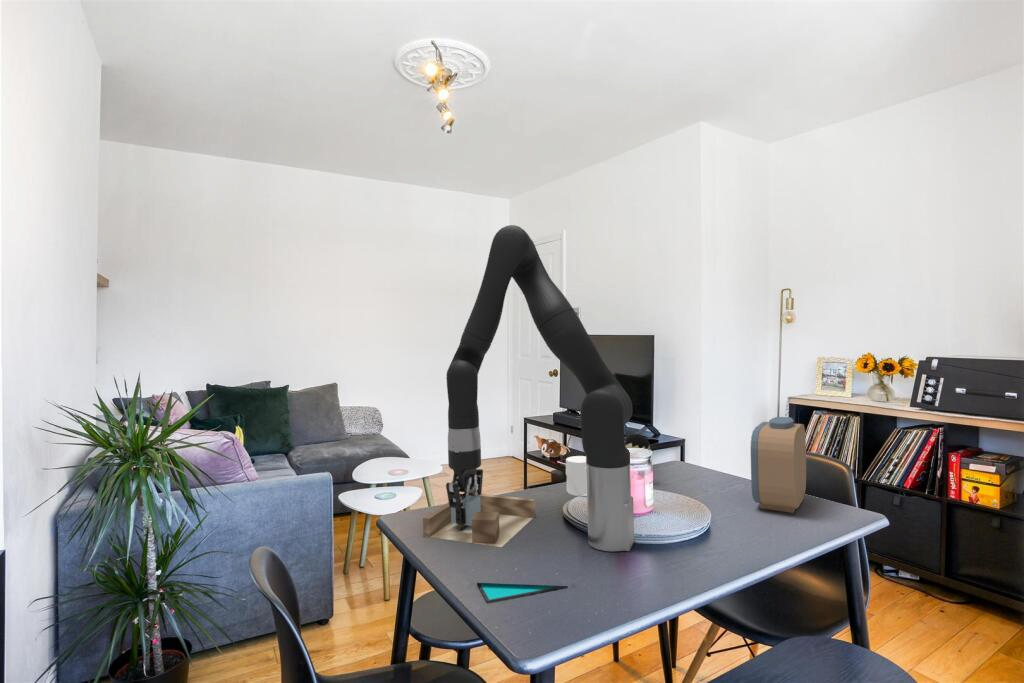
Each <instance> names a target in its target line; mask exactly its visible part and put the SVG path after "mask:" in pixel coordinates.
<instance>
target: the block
mask: <svg viewBox="0 0 1024 683" xmlns="http://www.w3.org/2000/svg"><path fill="white" fill-rule="evenodd" d="M460 499H461V502H462V497H460ZM453 502H454V500H453ZM476 512H481V506H480V497H478V496H470V495H469V496H468V498H466V503H465V513H466V523H465V524H464V525H468V526H471V525H472V518H473V517H474V515H475V513H476ZM451 523H454V524H457V523H456V509H455V508H453V507H451Z"/></svg>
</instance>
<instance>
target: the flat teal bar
mask: <svg viewBox="0 0 1024 683" xmlns="http://www.w3.org/2000/svg"><path fill="white" fill-rule="evenodd" d="M476 586H477V588H478V590H479V591H480V593H481V595H482V597H483V599H484V600H485V603H487V604H491V603H497V602H501V601H507V600H513V599H517V598H522V597H527V596H534V595H539V594H544V593H551V592H556V591H559V590H564V589H565V590H566V589H568V587H569V586H568V585H549V584H548V585H546V584H545V585H542V584H520V583H519V584H517V583H494V582H493V583H491V582H476Z"/></svg>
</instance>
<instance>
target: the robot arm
mask: <svg viewBox="0 0 1024 683" xmlns="http://www.w3.org/2000/svg"><path fill="white" fill-rule="evenodd" d="M539 254H540V253H539V252H538V250H537V247H536V244H535V243H534V241H533V239H532V238H531V236H530V235H529V233H527V232H526V231H525V229H523V228H522V227H520V226H519V225H515V224H513V225H512V224H511V225H505V226H503V227H502V228H500V229H499V230H498V231H497V232H495V235H494V236H493V239H492V242H491V245H490V249H489V254H488V258H487V263H486V267H485V269H484V274H483V277H482V279H481V280H482V281H481V284H480V288H479V290H478V294H477V297H476V298H475V302H474V305H473V307H472V310H471V312H470V315H469V317H468V320H467V322H466V325H465V327H464V329H463V332H462V334H461V338H460V342H459V345H458V347H457V349H456V351H455V353H454V356H453V358H452V360H451V361H450V364H449V366H448V368H447V371H446V390H447V399H448V406H447V407H448V408H447V409H448V410H447V420H448V422H447V424H448V425H447V426H448V429H447V430H448V432H447V456H448V459H447V460H448V462H447V463H448V467H449V469H451V470H452V471H453V476H452V481H451V482H446V484H445V488H446V493H447V499H448V502H449V506H450V507H453V508H455V509H456V523H457V524H459V525H464V524H465V523H466V513H465V503H466V498H468V496H469V495H470V496H478V495H481V494H482V490H483V478H484V477H483V476H484V470H483V469H480V467H481V466H482V447H481V446H482V444H481V440H482V439H481V431H480V417H479V406H478V385H479V384H478V381H479V378H478V377H479V376H478V375H479V373H480V370H481V367H482V363H483V361H484V358H485V355H486V354H487V353H488V351H489V349H490V348H491V345H492V343H493V340H494V339H495V336H496V333H497V331H498V328H499V325H500V322H501V319H502V314H503V310H504V304H505V298H506V295H507V291H508V287H509V285H510V282H511V279H513V280H514V282H515V283H516V285H517V286H518V288H519V289H520V291H521V293H522V294H523V296H524V299H525V301H526V303H527V304H526V305H527V307H528V309H529V312H530V315H531V318H532V320H533V322H534V324H535V326H536V329H537V331H538V332H539V333H540V336H541V338H542V340H543V341H544V342H545V344H546V346H547V348H548V349H549V350H550V352H551V353H552V354H553V355H554V356H555V357H556V359H558V360H559V361H560V362H561V363H562V364H563V365H564V366H565V367H566V368H567V369H568V370H569V371H570V372H571V373H572V374H573V375H574V376H575V378H576V379H577V381H578V382H579V384H580V386H581V387H582V389H583V391H584V393H585V397H584V399H583V400H582V402H581V406H580V428H581V442H582V444H581V445H582V449H583V452H584V454H585V456H586V473H587V497H586V501H587V502H586V503H587V505H586V506H587V539H588V540H587V541H588V545H589V546H590V547H592V548H594V549H595V550H599V551H603V552H624V551H625V552H630V550H631V548H632V547H633V544H634V542H635V516H634V515H635V514H634V512H635V511H634V510H635V509H634V496H632V492H631V491H632V490H631V487H632V485H631V464H630V452H629V450H628V449H627V448H626V446H625V439H626V438H625V425H626V424H627V423H628V422H629V421H630V419H631V418H632V415H633V403H632V400H631V397H630V396H629V395H628V392H626V390H625V388H624V387H623V386H622V384H621V383H620V382H619V380H617V378H616V377H615V375H614V374H613V373H612V371H611V370H610V369H609V368H608V366H607V364H606V363H605V361H604V360H603V358H602V356H601V355H600V352H599V351H598V349H597V348H596V345H595V344H594V342H593V340H592V338H591V337H590V335H589V333H588V332H587V330H586V328H585V326H584V324H583V323H582V321H581V319H580V317H579V316H578V314H577V313H576V311H575V310H574V307H573V306H572V305H571V303H570V302H569V300H568V299H567V298H566V296H565V295H564V294H563V293H562V291H561V290H560V289H559V288H558V286H557V285H556V284H555V283H554V281H553V280H552V279H551V277H550V275H549V274H548V271H547V270H546V268H545V265H544V264H543V261H542V259H541V257H540V255H539ZM463 493H464V494H463ZM460 497H462V502H461V499H460ZM453 499H454V502H453Z"/></svg>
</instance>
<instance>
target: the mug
mask: <svg viewBox="0 0 1024 683" xmlns="http://www.w3.org/2000/svg"><path fill="white" fill-rule="evenodd" d="M565 476H566V493H568V494H569V495H572V496H573V497H574V496H575V497H580V495H584V494H587V473H586V455H585V456H584V455H575V456H574V455H573V456H569V457H567V458H565Z"/></svg>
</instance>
